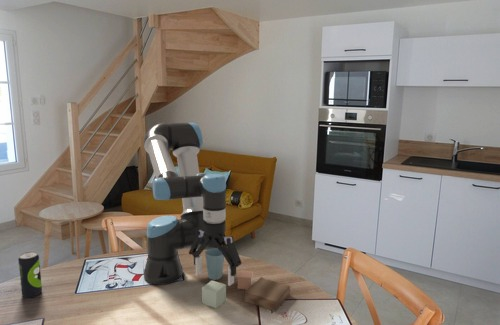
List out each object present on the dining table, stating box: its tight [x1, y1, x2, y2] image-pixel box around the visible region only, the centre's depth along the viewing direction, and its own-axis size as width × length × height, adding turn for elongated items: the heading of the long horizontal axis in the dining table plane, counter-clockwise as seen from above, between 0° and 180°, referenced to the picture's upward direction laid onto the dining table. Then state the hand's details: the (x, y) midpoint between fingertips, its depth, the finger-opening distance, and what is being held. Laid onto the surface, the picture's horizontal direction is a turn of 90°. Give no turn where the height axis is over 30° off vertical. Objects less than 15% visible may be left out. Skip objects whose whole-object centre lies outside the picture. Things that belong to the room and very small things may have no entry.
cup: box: [205, 247, 225, 281], centre depth 148 cm, size 8×8×10 cm
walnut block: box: [244, 277, 291, 312], centre depth 134 cm, size 12×12×4 cm
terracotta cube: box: [237, 269, 254, 291], centre depth 142 cm, size 5×5×5 cm
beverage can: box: [18, 250, 43, 299], centre depth 132 cm, size 6×6×15 cm
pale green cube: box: [201, 279, 227, 309], centre depth 131 cm, size 6×6×6 cm
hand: (214, 279), depth 129 cm, fingers open, 13 cm apart
